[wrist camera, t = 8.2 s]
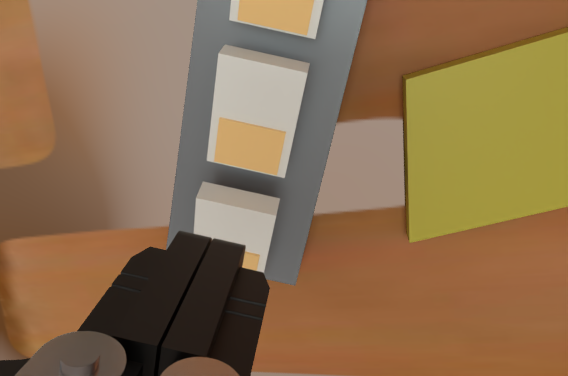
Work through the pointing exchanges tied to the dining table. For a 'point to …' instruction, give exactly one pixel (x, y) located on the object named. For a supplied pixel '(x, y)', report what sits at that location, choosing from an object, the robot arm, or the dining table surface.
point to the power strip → (308, 134)
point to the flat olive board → (486, 137)
